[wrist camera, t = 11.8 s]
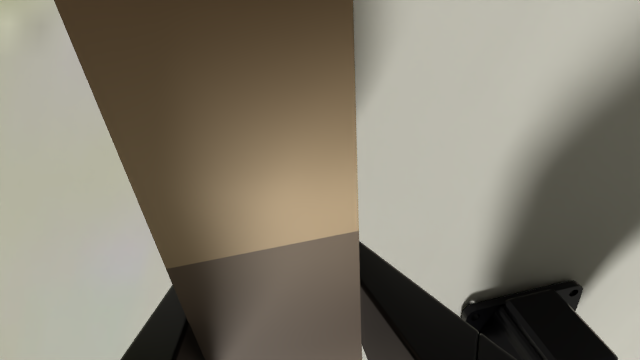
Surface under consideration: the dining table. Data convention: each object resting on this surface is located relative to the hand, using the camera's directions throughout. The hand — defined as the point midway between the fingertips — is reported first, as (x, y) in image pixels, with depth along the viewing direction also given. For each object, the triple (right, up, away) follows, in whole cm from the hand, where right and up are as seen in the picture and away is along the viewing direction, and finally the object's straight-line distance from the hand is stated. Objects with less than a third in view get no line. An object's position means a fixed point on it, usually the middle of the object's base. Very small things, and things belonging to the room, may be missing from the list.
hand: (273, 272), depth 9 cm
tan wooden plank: (0, +3, -1) cm, 4 cm away
